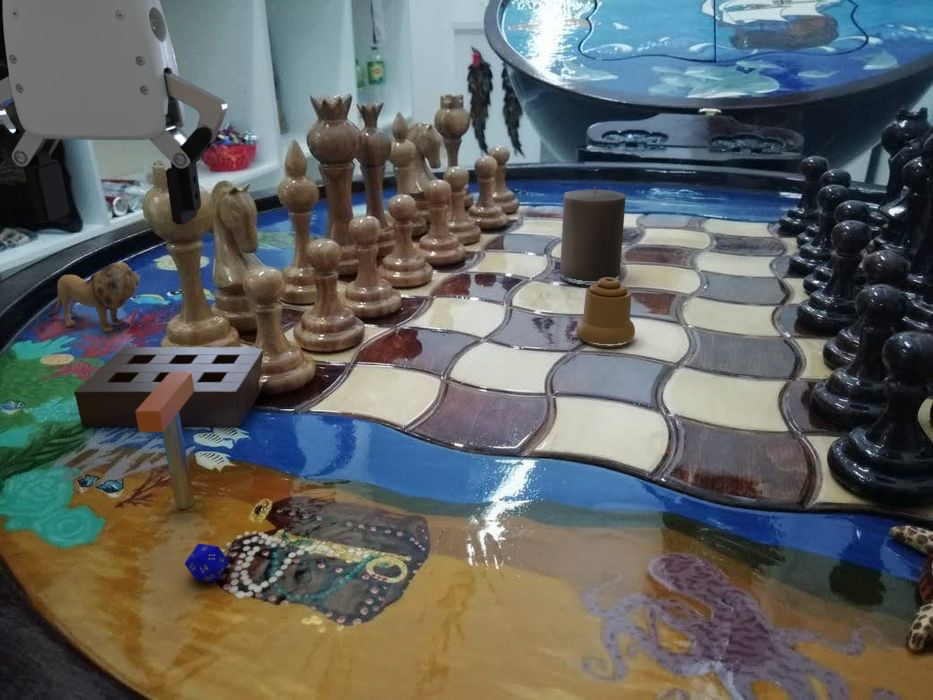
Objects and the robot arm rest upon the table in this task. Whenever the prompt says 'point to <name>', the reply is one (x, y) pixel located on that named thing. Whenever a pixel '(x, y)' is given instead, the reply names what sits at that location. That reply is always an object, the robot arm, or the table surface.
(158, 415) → the t handle
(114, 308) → the lion figurine
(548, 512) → the table surface
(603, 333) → the ornamental finial
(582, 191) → the pillar candle
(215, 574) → the die
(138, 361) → the tool rack
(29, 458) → the table surface
